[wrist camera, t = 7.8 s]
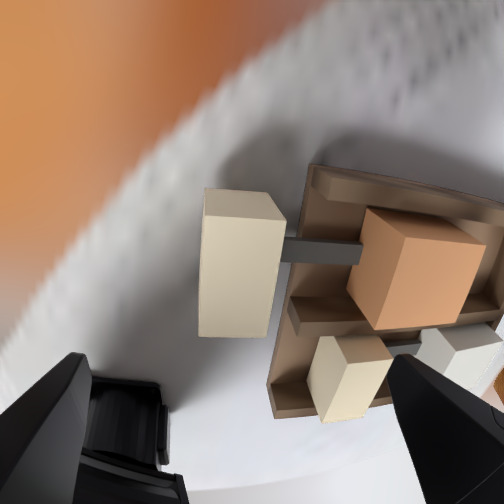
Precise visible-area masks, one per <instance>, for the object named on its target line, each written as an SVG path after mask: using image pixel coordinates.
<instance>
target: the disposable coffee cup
mask: <svg viewBox="0 0 504 504" xmlns="http://www.w3.org/2000/svg"><path fill="white" fill-rule="evenodd" d="M494 388H495V390H496V392H497V394H498V395H499V397H500V399H501V401H502V403H503V404H504V369H503V370H502V371H501V372H500V374H499V375H498V377H497V379H496V380H495V383H494Z"/></svg>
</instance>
